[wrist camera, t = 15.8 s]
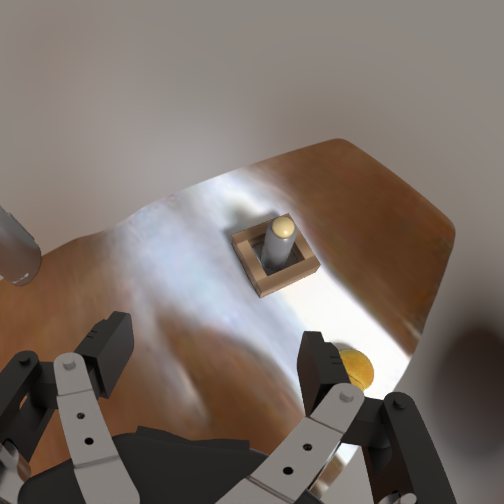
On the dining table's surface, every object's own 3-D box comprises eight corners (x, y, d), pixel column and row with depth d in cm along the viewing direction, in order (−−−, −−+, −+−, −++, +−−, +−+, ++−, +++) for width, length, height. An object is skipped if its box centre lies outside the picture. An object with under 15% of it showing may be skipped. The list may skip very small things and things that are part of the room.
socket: (231, 244, 47) (231, 234, 45) (285, 223, 50) (288, 213, 47) (259, 298, 44) (261, 291, 41) (315, 272, 46) (320, 264, 44)
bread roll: (376, 368, 40) (389, 365, 36) (345, 416, 36) (356, 418, 33) (337, 339, 42) (347, 334, 38) (303, 387, 38) (310, 386, 35)
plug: (256, 253, 47) (262, 219, 38) (278, 244, 48) (289, 209, 39) (268, 274, 46) (277, 244, 37) (290, 264, 47) (304, 232, 38)
